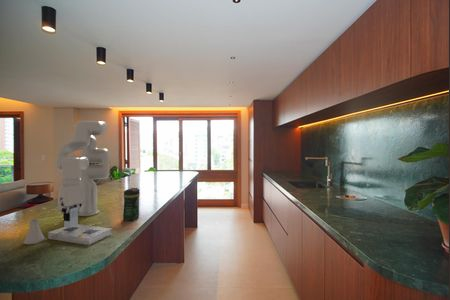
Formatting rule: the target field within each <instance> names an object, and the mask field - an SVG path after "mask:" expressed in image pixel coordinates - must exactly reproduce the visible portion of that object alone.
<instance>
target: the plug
mask: <svg viewBox="0 0 450 300" xmlns="http://www.w3.org/2000/svg"><path fill="white" fill-rule="evenodd" d="M68 213H70V221H64V220H63V227H67V228H72V227H75V226H77V225H78V224H79V218H78V207H73V206H70V207H69V212H68Z"/></svg>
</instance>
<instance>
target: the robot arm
mask: <svg viewBox="0 0 450 300" xmlns="http://www.w3.org/2000/svg"><path fill="white" fill-rule="evenodd" d="M74 127H75V128H74V131H73V134H72V138H71V140H69V141H68V142H66V143H65V144H64V145H63V146H61V148H60V149H59V150H58V152H57V156H56V159H55V168H56V170H58V171H61V183H62V184H61V185H60V186H59V189H58V195H57V196H58V197H57V206H56V209H57V210H58V211H60V212H61V213H63V214H62V215H63V222H64V221H70V213H68V212H69V207H70V206H73V207H78V219H79V217H89V216H91V217H92V216H95V215H97V214H99V213H100V210H99V209H98V185H97V183H96V182H95V181H94V180H107V179H108V178H109V177H110V163H111V162H110V151H109V150H108V149H107V148H105V147H103V148H101V147H99V148H98V140H97V138H96V137H95V136H104V135H106V134H107V132H108V124H107V122H106V121H104V120H103V121H101V120H98V121H97V120H78V121H76V123H75V126H74ZM80 150H81V155H70V154H71V153H74V152H76V151H80ZM93 163H95V164H93ZM98 163H99V164H98Z"/></svg>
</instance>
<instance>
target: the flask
mask: <svg viewBox="0 0 450 300" xmlns="http://www.w3.org/2000/svg"><path fill="white" fill-rule="evenodd" d="M39 221H40V219H39V218H34V219H33V218H32V219H30V220H29V223H30V225H29V230H28V232H27V234H26V237H25V239H24V241H23V243H22V244H23V245H28V246H29V245H35V244H39V243H41V242H43V241H44V240H45V236H44V234H43V233H42V231H41V229H40V225H39Z"/></svg>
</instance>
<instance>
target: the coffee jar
mask: <svg viewBox="0 0 450 300" xmlns="http://www.w3.org/2000/svg"><path fill="white" fill-rule="evenodd" d="M138 218H140V189H139V188H138V187H130V188H129V189H128V188H127V189H125V190H124V191H123V213H122V219H123V220H124V221H127V222H128V221H134V220H137V219H138Z"/></svg>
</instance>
